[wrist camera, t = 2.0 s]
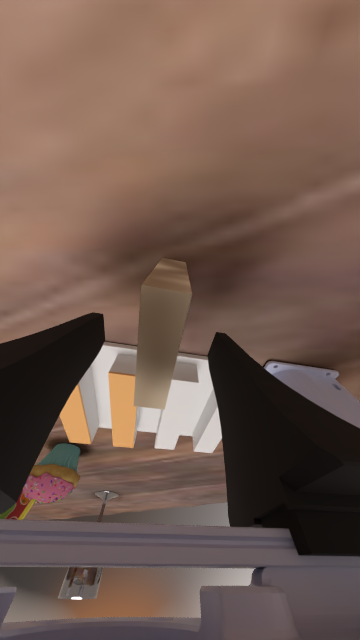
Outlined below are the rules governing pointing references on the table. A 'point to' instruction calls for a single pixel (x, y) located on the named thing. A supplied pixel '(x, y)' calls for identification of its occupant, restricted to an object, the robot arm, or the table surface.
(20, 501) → the smoothie
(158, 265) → the block
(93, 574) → the wine glass
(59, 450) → the cupcake
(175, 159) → the table surface
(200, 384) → the rack
